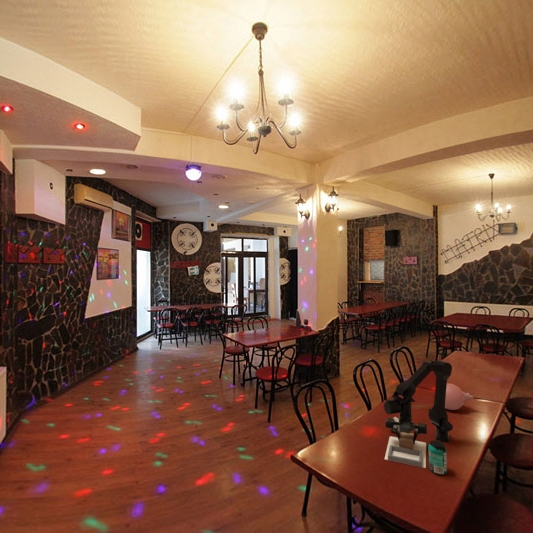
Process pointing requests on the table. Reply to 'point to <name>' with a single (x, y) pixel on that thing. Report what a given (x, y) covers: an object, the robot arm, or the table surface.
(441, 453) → the beverage can
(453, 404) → the balloon
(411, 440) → the card box
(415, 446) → the mat
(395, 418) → the game die
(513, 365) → the table surface
